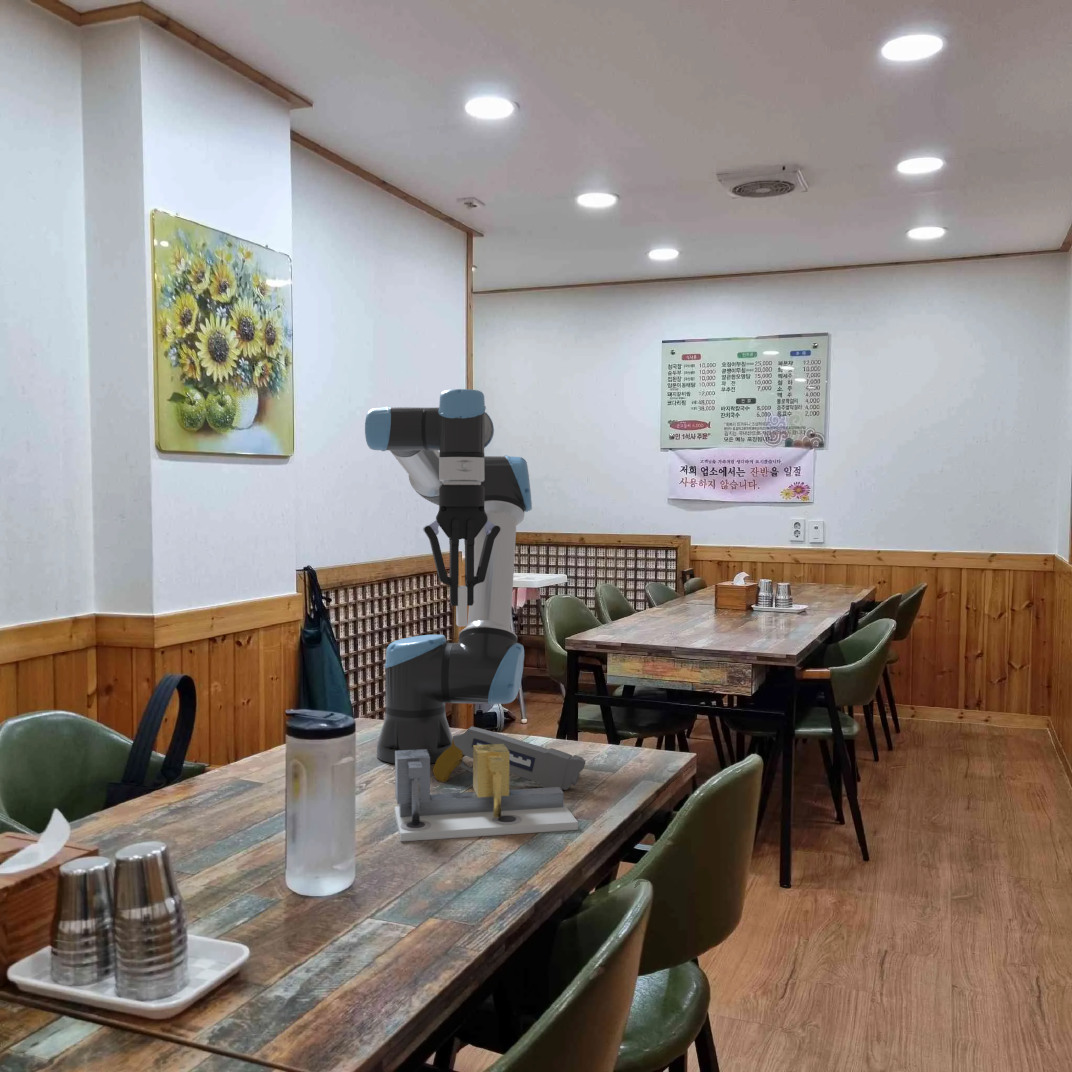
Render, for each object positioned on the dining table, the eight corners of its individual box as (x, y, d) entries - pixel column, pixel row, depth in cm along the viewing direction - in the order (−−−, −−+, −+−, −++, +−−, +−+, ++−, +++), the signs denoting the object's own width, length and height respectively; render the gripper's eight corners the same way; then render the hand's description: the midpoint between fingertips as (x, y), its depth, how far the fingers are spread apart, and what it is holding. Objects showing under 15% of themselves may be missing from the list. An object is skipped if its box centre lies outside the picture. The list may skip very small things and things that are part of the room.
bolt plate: (394, 813, 161) (394, 805, 161) (558, 804, 167) (558, 795, 167) (400, 841, 148) (400, 832, 148) (577, 829, 154) (578, 820, 154)
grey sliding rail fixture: (395, 809, 160) (395, 750, 159) (557, 799, 165) (558, 743, 165) (399, 828, 151) (399, 766, 150) (571, 817, 156) (571, 757, 156)
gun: (552, 840, 174) (584, 763, 172) (427, 778, 179) (457, 702, 177) (556, 834, 177) (588, 758, 175) (433, 773, 182) (462, 699, 180)
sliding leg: (473, 800, 162) (473, 745, 162) (503, 798, 163) (503, 743, 163) (481, 818, 153) (481, 759, 153) (513, 816, 154) (514, 758, 154)
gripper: (424, 483, 162) (424, 629, 163) (504, 483, 164) (504, 627, 165) (420, 483, 169) (420, 623, 170) (496, 484, 172) (496, 621, 173)
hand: (461, 625), depth 168 cm, fingers closed
